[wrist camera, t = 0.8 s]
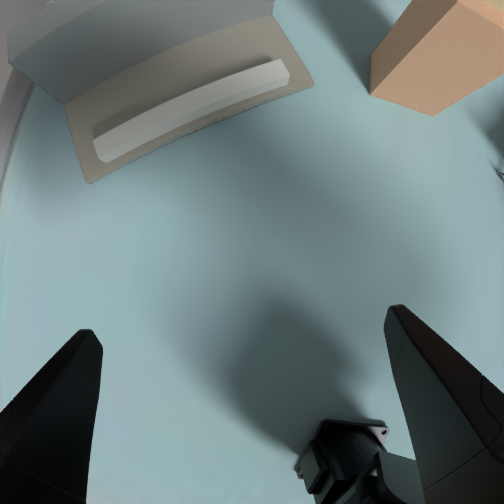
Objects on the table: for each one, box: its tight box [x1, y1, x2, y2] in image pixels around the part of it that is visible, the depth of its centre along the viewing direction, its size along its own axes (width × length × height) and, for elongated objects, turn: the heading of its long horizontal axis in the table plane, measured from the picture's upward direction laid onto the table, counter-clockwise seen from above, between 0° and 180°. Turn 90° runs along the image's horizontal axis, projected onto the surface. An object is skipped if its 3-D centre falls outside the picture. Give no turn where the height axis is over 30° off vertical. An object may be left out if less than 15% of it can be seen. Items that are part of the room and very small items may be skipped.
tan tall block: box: [370, 0, 504, 117], centre depth 15 cm, size 4×6×15 cm, turn 81°
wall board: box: [8, 0, 315, 184], centre depth 17 cm, size 11×18×9 cm, turn 114°
